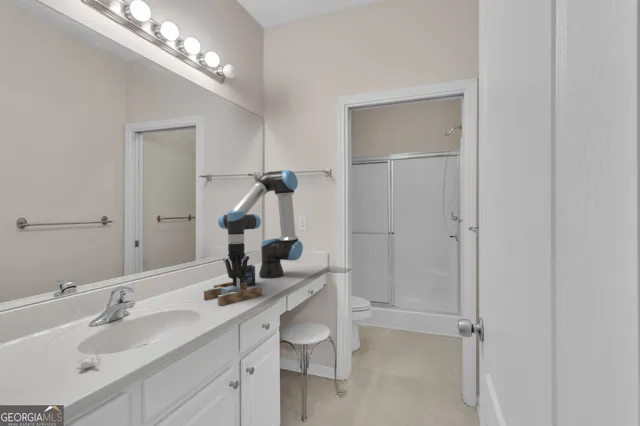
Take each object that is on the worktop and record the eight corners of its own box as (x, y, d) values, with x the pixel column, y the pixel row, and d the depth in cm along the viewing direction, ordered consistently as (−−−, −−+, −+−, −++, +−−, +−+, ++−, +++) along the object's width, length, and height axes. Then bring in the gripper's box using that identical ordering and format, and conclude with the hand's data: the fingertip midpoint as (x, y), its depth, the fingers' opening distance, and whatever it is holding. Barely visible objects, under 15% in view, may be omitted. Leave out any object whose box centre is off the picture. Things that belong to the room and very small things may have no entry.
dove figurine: (67, 368, 81) (73, 348, 83) (83, 366, 86) (89, 348, 87) (92, 371, 80) (98, 351, 81) (108, 369, 84) (113, 350, 86)
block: (232, 296, 152) (232, 285, 152) (239, 298, 147) (239, 287, 147) (221, 298, 147) (221, 288, 147) (227, 301, 143) (227, 290, 143)
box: (241, 287, 169) (241, 267, 169) (238, 285, 174) (237, 266, 174) (255, 285, 173) (255, 265, 173) (251, 283, 178) (251, 264, 178)
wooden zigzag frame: (238, 288, 167) (237, 280, 167) (262, 295, 151) (262, 286, 151) (197, 296, 151) (197, 287, 151) (219, 306, 136) (219, 296, 136)
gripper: (243, 241, 157) (244, 288, 157) (219, 243, 148) (220, 293, 148) (252, 242, 152) (253, 291, 152) (227, 244, 143) (228, 296, 143)
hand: (237, 292), depth 150 cm, fingers closed
